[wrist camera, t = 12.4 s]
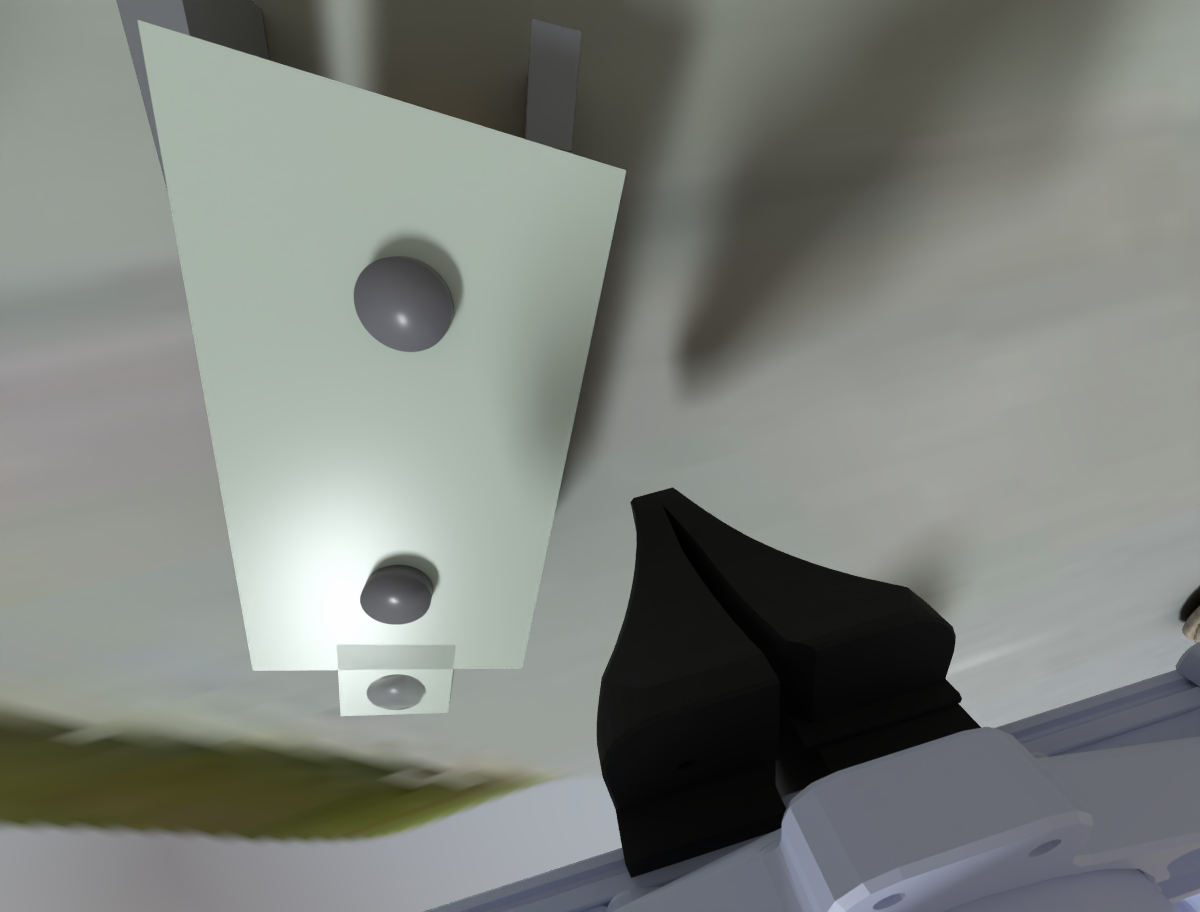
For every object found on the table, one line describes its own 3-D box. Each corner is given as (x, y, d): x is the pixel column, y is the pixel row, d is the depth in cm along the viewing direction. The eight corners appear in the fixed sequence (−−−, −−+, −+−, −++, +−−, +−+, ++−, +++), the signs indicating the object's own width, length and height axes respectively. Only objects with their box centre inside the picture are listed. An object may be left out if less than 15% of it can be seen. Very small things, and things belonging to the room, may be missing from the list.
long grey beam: (316, 540, 16) (276, 599, 13) (209, -3, 9) (91, -97, 7) (531, 539, 18) (534, 592, 15) (566, 80, 11) (581, 31, 8)
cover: (335, 580, 17) (253, 733, 11) (311, 121, 10) (112, 4, 5) (514, 587, 18) (512, 723, 13) (583, 198, 12) (631, 166, 7)
